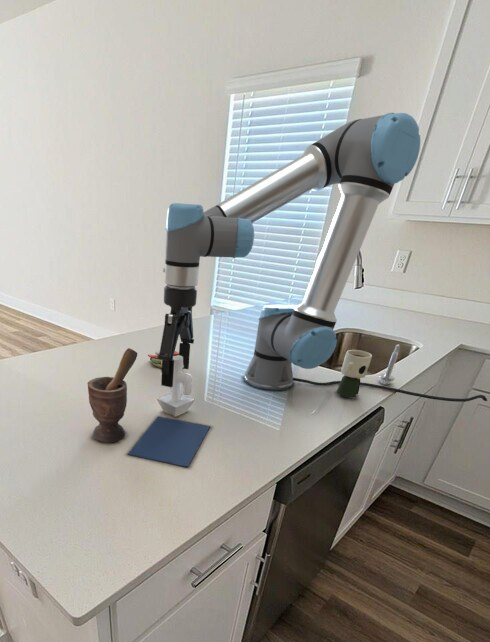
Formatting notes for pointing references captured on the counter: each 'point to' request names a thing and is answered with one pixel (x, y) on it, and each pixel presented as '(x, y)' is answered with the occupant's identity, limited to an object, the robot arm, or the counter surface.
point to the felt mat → (170, 441)
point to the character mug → (353, 372)
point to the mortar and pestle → (110, 400)
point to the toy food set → (157, 361)
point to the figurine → (177, 391)
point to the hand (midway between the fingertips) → (175, 376)
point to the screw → (390, 368)
